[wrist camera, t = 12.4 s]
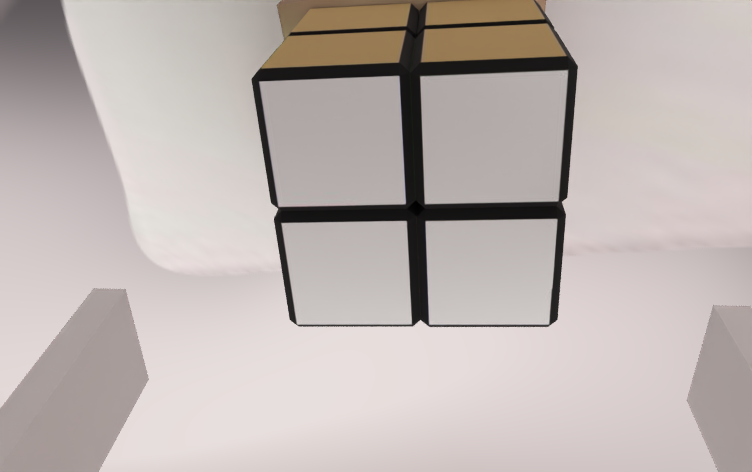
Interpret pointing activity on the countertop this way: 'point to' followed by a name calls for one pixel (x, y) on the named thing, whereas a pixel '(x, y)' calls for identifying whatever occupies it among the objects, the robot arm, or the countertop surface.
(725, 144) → the countertop surface
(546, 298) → the puzzle cube
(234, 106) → the countertop surface
